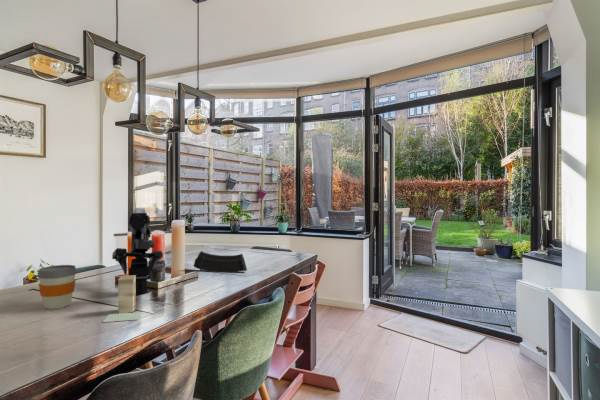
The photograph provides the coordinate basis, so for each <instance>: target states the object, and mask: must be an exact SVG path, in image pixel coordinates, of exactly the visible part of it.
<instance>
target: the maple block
mask: <svg viewBox="0 0 600 400" xmlns="http://www.w3.org/2000/svg"><path fill="white" fill-rule="evenodd" d="M117 280H118V283H117V284H118V286H117V287H118V288H117V289H118V290H117V291H118V292H117V293H118V296H117V297H118V298H117V299H118V302H117V303H118V305H117V309H118V310H117V311H118V313H128V312H129V313H130V312H133V311H134V312H135V310H136V307H137V306H136V301H137V298H136V296H137V295H136V275H133V276H129V275H121V276H120V277H119V278H118V279H117ZM118 313H117V314H118Z"/></svg>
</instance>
